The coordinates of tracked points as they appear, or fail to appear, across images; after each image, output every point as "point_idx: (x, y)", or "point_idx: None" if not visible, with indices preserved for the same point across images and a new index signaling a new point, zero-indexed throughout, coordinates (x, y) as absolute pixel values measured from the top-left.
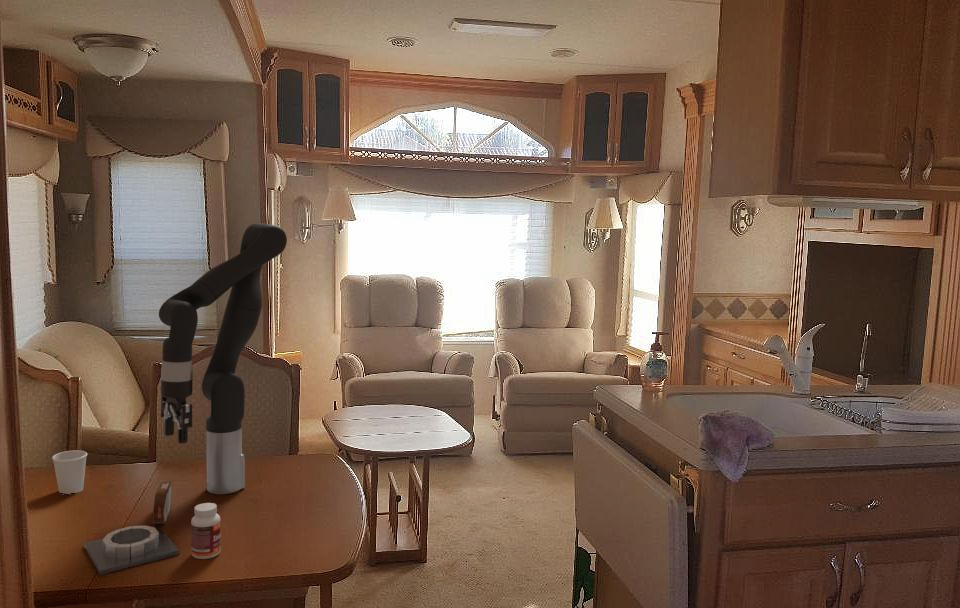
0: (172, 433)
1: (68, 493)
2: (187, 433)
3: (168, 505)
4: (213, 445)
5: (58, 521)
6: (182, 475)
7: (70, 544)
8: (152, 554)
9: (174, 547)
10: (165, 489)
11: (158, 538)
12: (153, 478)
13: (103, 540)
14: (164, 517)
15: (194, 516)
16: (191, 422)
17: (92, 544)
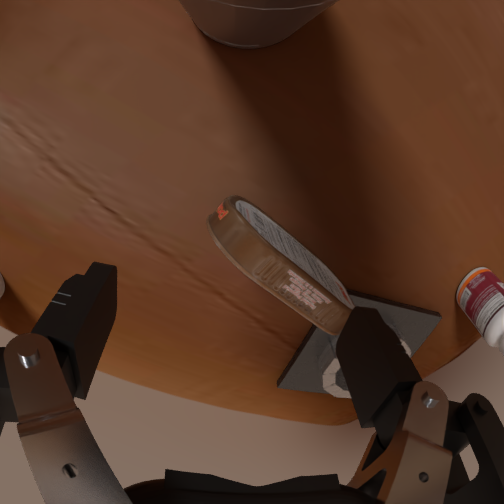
0: (111, 277)
1: (3, 292)
2: (400, 350)
3: (279, 233)
4: (298, 10)
5: (128, 361)
6: (36, 35)
7: (246, 387)
8: (412, 346)
9: (430, 317)
10: (332, 306)
11: (399, 333)
12: (3, 111)
13: (338, 396)
14: (332, 277)
15: (494, 343)
16: (498, 429)
17: (294, 383)
